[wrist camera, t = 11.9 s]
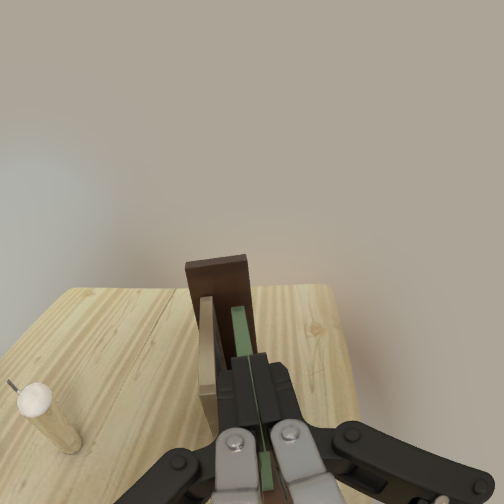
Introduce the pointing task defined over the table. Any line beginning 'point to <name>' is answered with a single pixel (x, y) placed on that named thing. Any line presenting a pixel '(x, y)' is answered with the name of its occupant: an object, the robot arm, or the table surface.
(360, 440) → the robot arm
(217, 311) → the window frame
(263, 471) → the panel
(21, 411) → the milkshake
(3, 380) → the table surface
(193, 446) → the table surface
